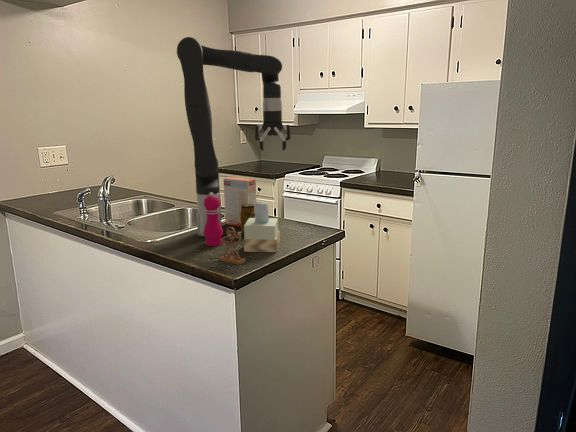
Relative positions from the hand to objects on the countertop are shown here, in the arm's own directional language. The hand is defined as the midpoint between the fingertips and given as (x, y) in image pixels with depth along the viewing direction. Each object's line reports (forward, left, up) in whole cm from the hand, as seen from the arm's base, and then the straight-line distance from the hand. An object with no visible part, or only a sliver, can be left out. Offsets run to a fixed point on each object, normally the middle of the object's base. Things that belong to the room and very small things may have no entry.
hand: (273, 150), depth 178 cm
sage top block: (-3, -25, -28) cm, 38 cm away
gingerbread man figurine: (-12, -40, -33) cm, 53 cm away
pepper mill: (-22, -21, -33) cm, 45 cm away
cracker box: (-15, +5, -33) cm, 37 cm away
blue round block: (-3, -25, -24) cm, 34 cm away
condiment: (-10, -8, -33) cm, 36 cm away
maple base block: (-3, -25, -34) cm, 42 cm away
